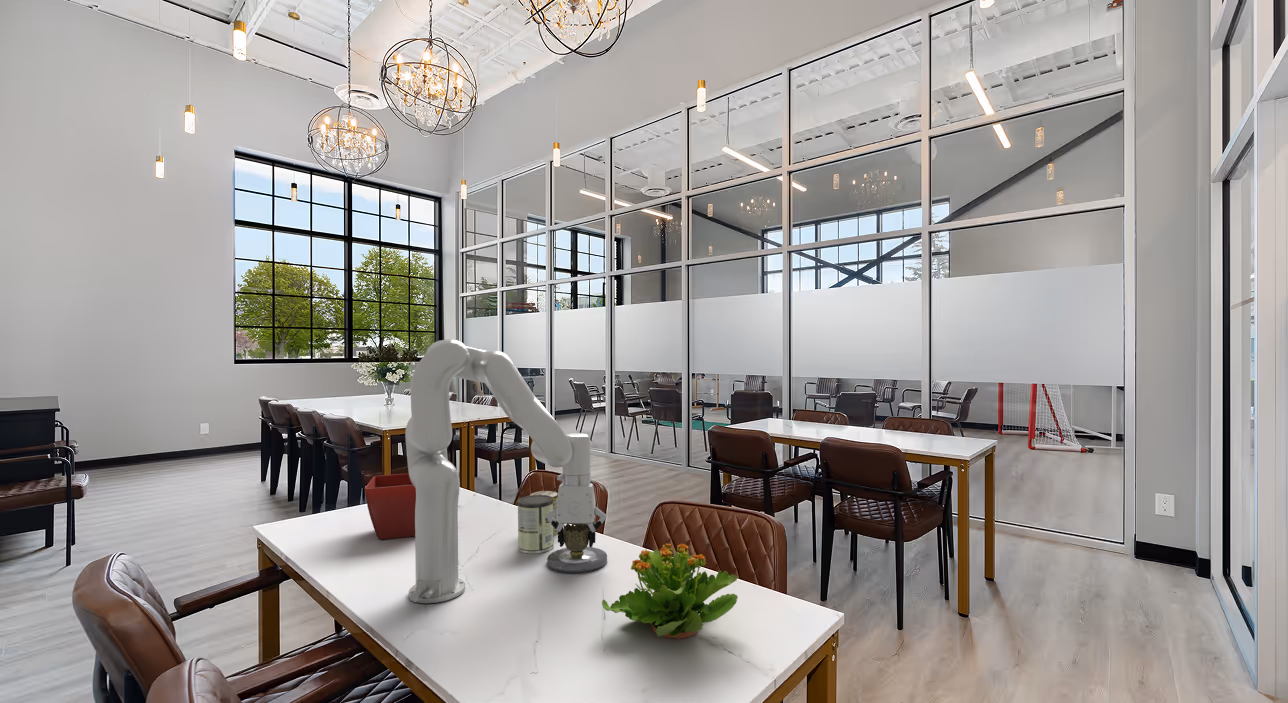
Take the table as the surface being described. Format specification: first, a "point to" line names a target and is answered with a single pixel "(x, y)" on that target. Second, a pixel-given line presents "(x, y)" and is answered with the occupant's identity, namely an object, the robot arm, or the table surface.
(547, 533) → the coffee can
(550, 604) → the table surface
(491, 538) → the table surface
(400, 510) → the plant pot
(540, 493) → the yellow tin can
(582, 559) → the gray dinner plate
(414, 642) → the table surface
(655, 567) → the potted flower
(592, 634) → the table surface
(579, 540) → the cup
